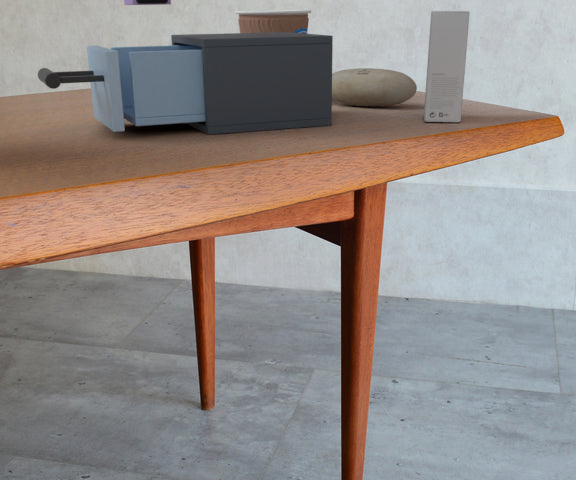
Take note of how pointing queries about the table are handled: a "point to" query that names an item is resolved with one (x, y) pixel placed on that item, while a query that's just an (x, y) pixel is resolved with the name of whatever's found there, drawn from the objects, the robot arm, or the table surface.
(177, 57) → the drawer
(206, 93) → the cabinet
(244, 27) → the coffee cup
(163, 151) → the table surface
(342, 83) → the stone
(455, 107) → the cosmetic box
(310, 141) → the table surface
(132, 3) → the cube
